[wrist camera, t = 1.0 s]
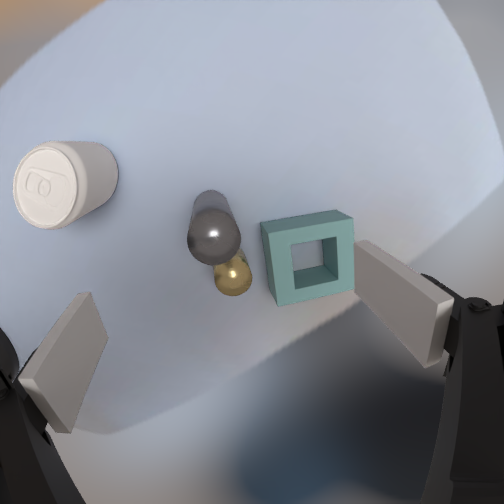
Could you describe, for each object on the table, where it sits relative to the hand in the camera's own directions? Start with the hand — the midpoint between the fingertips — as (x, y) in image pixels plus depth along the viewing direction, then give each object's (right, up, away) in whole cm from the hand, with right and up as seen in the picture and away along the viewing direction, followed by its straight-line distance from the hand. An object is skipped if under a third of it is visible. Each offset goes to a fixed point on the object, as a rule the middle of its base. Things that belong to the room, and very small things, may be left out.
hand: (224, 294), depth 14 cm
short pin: (-2, +1, +24) cm, 24 cm away
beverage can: (-18, +11, +18) cm, 28 cm away
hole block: (+8, +2, +25) cm, 26 cm away
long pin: (-4, +7, +22) cm, 23 cm away
